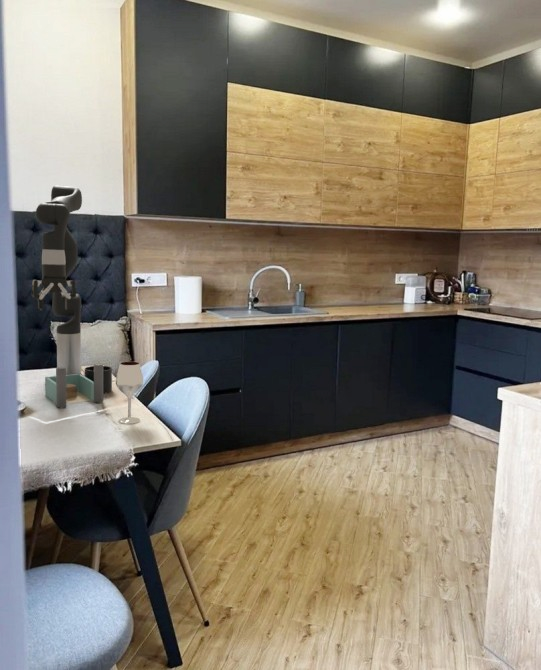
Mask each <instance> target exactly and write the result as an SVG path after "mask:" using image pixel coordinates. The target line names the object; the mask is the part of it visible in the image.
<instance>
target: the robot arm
mask: <svg viewBox="0 0 541 670" xmlns="http://www.w3.org/2000/svg"><path fill="white" fill-rule="evenodd" d="M50 198H51V199H50V201H44V202H41V203H40V204H38V206H37V207H36V210H35V217H36V220H37V222H39V223H40V224H42V225H47V226H48V225H49V226H52V231H46V232H43V233H42V235H41V236H42V242H41V243H42V253H41V274H42V275H41V280H37V279H32V282H31V297H32V298H35V299H36V300H37V308H38V309H39V310H40V311H44V308H45V307H44V297H45V296H46V295H47V294H48V293H52V302H51V303H52V306H51V307H52V313H53V315H54V316H56V317H71V319H70V320H68V321H66V322H64V323H61V324H59V325H57V326H56V368H59V367H64V368H66V375H73V374H81V375H82V358H81V357H82V352H81V351H82V350H81V349H82V348H81V347H82V343H81V341H82V339H81V335H82V334H81V331H82V330H81V323H82V322H81V321H82V320H81V315H82V298H81V295H80V294H79V293H77V291H76V289H77V288H76V281H75V279H74V280H73V279H70V280H67V278H68V277H69V275H71V273H72V271H73V270H74V268H75V266H77V265H76V264H77V262H78V243H77V241H76V240H75V237H74V236H73V234H72V233H71V232H70V230H69V228H68V223H69V220H70V213H73V212H75V211H76V212H77V211H79V210H80V209H81V208H82V203H83V196H82V191H81V190H80V188H78V187H76V186H67V185H66V186H65V185H54V186H52V188H51V193H50ZM40 285H42V287H43V288H42V289H41V291H40V292H39V293H38V290H39V289H38V287H40ZM66 286H67V287H69V293H68V290H67V289H66V288H65V287H66Z"/></svg>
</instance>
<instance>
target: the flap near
mask: <svg viewBox="0 0 541 670" xmlns="http://www.w3.org/2000/svg"><path fill="white" fill-rule="evenodd" d="M55 376H56V402H57V404H56V408H60V409H63V408H65V407H67V404H66V368H64V367H59V368H57V367H56V368H55Z"/></svg>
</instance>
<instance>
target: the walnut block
mask: <svg viewBox="0 0 541 670" xmlns="http://www.w3.org/2000/svg"><path fill="white" fill-rule="evenodd" d="M74 397H77V386H76V385H73V384H66V399H69V398H74Z"/></svg>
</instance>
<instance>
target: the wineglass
mask: <svg viewBox="0 0 541 670" xmlns="http://www.w3.org/2000/svg"><path fill="white" fill-rule="evenodd" d="M118 366H119V367H118V370H117V374H116V377H115V384H116V385H115V386H116V387H117V389H118V390H119V391H120V392H121V393H123V394H124V395H125V396H126V397H127V399H128V400H127V401H128V403H127V404H128V405H127V406H128V408H127V409H128V411H127V417H122V418H119V419H118V423H120V424H123V425H134V424H137V423H139V422H140V421H141V419H140V418H139V417H134V416H132V397H133V396H134V395H136V393H138V391H140V390H141V389H142V387H143V386H144V375H143V372H142V368H141V364H140V362H139V361H138V362H137V361H123V362H120V363H119V365H118Z"/></svg>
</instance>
